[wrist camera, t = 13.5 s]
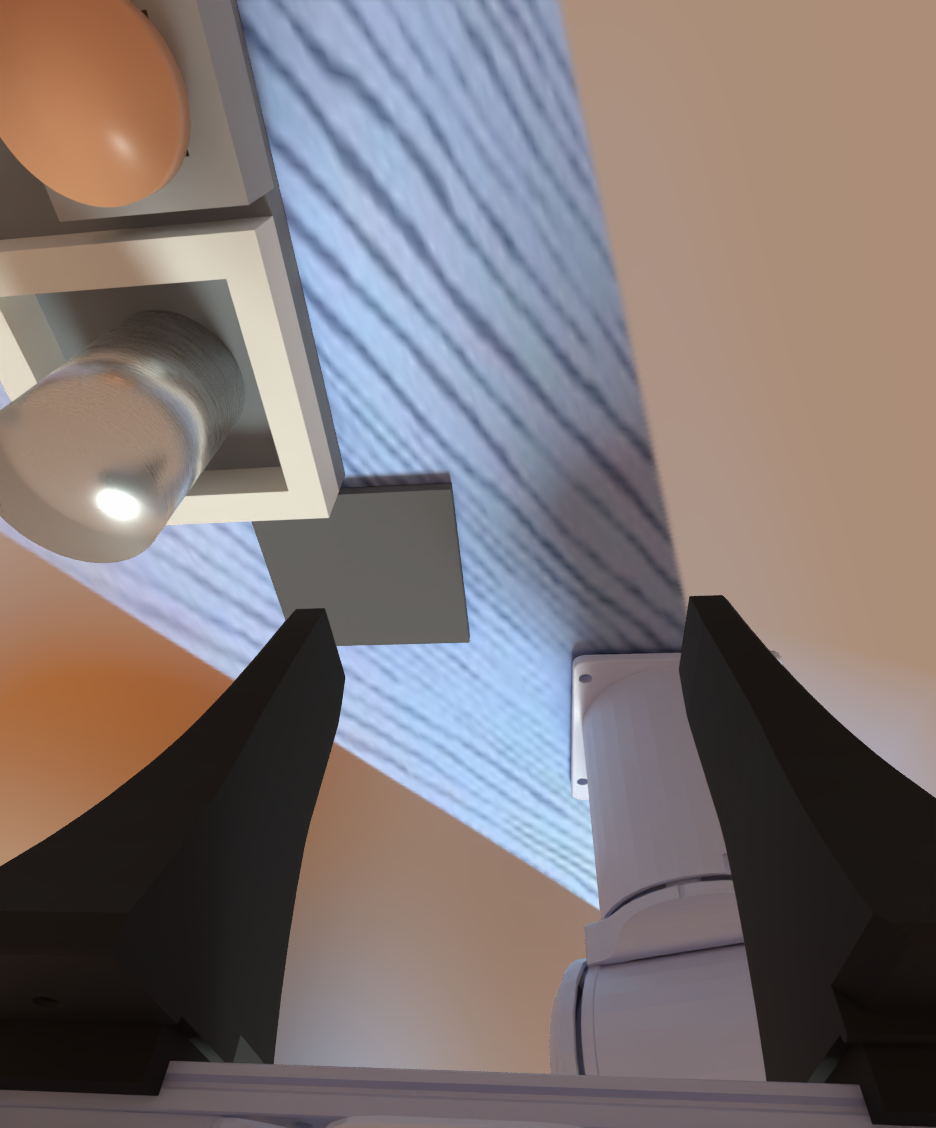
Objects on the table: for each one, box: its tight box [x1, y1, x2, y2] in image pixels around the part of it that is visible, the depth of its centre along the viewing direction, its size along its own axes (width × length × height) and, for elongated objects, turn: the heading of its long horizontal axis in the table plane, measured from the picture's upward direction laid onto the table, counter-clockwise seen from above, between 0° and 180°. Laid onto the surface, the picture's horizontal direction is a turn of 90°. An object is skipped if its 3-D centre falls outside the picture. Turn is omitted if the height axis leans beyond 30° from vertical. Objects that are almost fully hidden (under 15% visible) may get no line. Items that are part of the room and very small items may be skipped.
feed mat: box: [252, 483, 470, 646], centre depth 25 cm, size 7×7×1 cm
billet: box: [0, 310, 245, 563], centre depth 17 cm, size 4×4×6 cm
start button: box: [0, 0, 191, 207], centre depth 14 cm, size 4×4×3 cm
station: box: [0, 0, 345, 525], centre depth 18 cm, size 13×8×3 cm, turn 5°
